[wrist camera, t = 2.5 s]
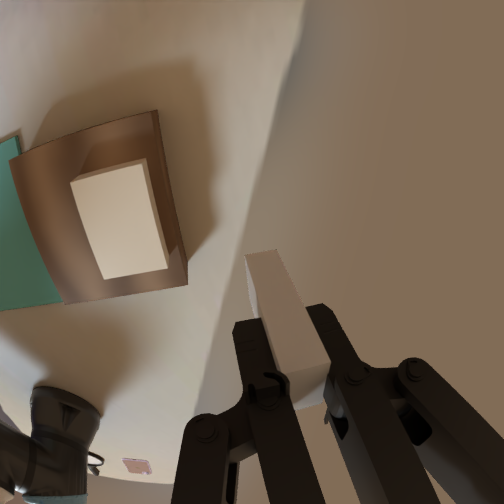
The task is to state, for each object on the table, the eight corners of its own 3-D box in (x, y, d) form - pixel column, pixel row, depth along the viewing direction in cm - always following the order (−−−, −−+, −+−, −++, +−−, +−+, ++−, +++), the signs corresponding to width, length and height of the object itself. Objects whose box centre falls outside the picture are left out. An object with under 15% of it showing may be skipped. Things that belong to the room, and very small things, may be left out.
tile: (108, 267, 25) (104, 279, 23) (78, 175, 20) (69, 182, 18) (169, 256, 25) (167, 268, 24) (145, 158, 21) (141, 163, 19)
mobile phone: (147, 462, 58) (152, 475, 66) (147, 459, 59) (152, 472, 66) (120, 459, 56) (128, 473, 64) (120, 456, 57) (128, 470, 64)
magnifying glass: (79, 467, 63) (79, 472, 61) (58, 441, 52) (57, 448, 50) (113, 473, 66) (113, 478, 64) (98, 450, 55) (98, 456, 53)
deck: (74, 282, 29) (64, 304, 26) (28, 150, 21) (8, 160, 17) (187, 262, 31) (187, 284, 27) (157, 109, 22) (150, 112, 19)
